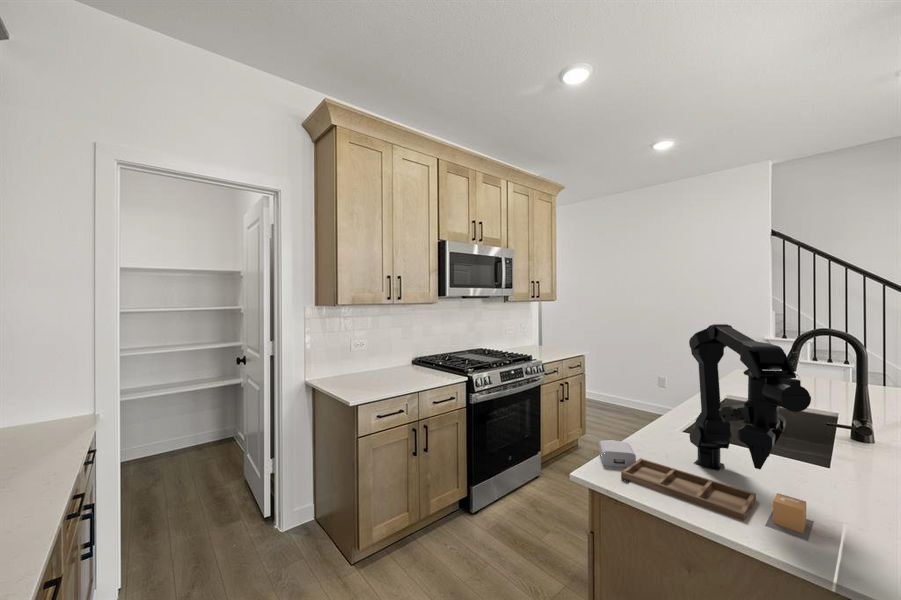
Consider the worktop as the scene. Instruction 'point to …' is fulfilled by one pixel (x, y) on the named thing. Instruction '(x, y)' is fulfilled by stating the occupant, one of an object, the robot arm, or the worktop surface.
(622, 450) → the charger
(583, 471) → the worktop surface
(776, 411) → the robot arm
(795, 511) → the letter cube
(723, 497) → the organiser
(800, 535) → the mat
